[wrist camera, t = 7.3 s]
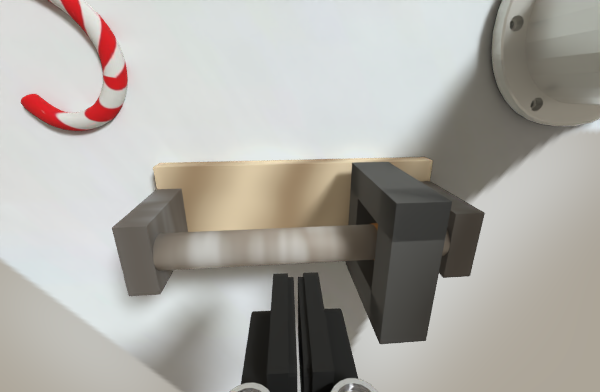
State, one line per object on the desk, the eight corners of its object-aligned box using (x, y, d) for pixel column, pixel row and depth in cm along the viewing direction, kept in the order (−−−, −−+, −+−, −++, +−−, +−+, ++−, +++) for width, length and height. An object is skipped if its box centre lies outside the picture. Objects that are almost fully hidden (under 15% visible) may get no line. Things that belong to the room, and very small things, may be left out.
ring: (388, 161, 19) (452, 201, 12) (377, 262, 22) (425, 340, 15) (352, 162, 19) (396, 203, 12) (345, 263, 21) (379, 344, 15)
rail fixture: (424, 156, 22) (491, 186, 15) (412, 240, 24) (465, 297, 17) (159, 163, 20) (103, 199, 13) (175, 251, 22) (134, 319, 16)
